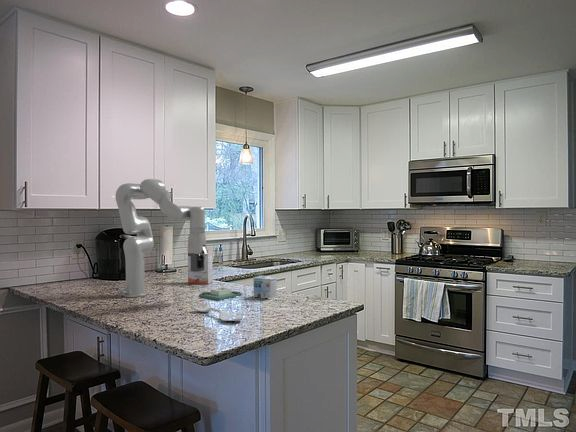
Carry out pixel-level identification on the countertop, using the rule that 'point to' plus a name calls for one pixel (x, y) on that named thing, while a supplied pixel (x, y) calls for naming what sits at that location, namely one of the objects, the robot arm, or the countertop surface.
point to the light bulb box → (265, 286)
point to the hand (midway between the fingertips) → (197, 266)
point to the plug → (196, 263)
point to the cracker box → (201, 276)
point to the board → (220, 293)
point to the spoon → (222, 314)
